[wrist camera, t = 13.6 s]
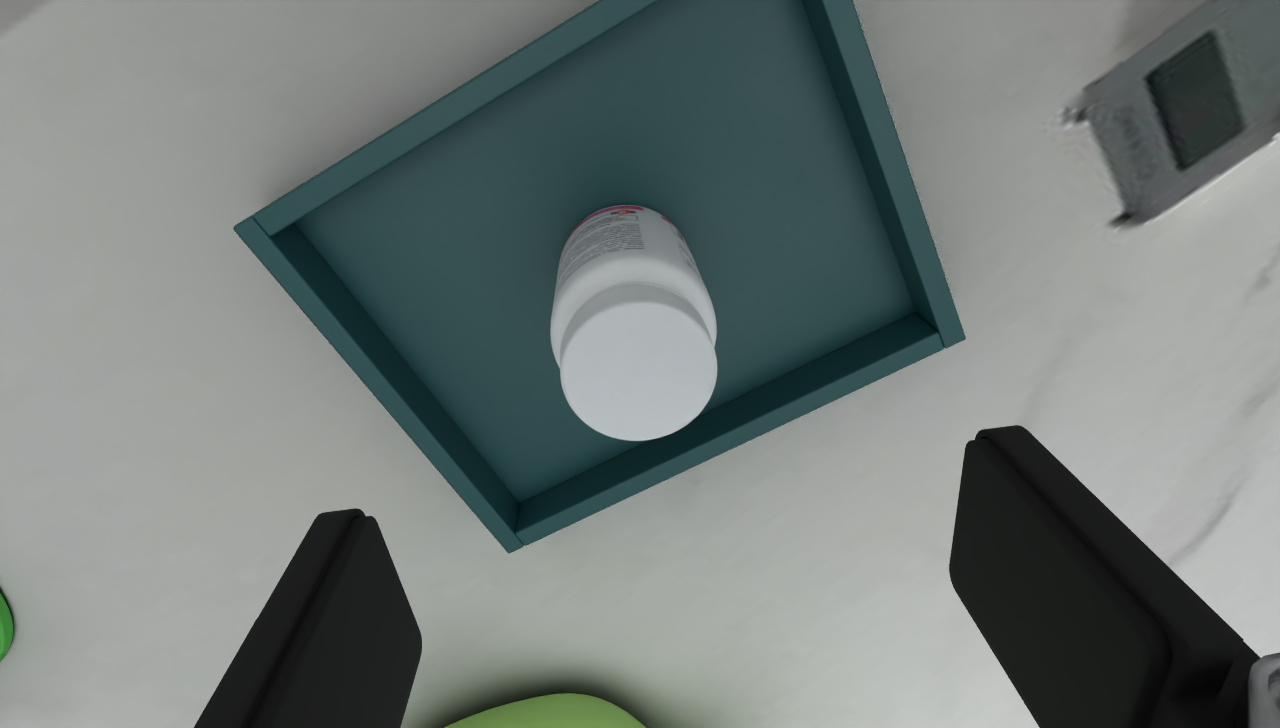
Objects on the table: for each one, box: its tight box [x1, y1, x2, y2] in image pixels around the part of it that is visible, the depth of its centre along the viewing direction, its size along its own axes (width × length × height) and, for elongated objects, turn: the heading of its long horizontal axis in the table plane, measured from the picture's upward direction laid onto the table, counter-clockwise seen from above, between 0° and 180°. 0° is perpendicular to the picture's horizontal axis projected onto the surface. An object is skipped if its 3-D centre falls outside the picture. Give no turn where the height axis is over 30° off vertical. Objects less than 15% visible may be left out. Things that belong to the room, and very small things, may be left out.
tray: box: [233, 0, 966, 553], centre depth 23 cm, size 20×16×3 cm
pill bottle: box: [550, 205, 717, 441], centre depth 20 cm, size 5×5×8 cm
